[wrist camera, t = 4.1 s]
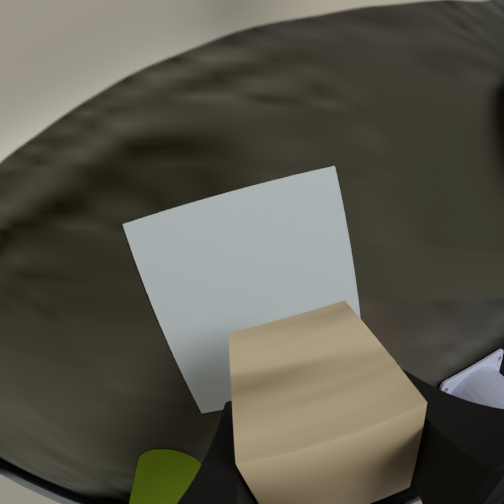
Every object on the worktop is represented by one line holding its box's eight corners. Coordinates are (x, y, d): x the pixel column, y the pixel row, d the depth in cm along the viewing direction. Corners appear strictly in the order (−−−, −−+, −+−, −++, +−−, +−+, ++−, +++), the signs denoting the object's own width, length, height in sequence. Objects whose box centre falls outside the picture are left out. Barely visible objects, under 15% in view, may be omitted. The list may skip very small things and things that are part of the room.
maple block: (354, 385, 13) (409, 487, 7) (257, 414, 13) (275, 529, 7) (345, 300, 12) (427, 402, 6) (228, 332, 12) (235, 464, 6)
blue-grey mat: (364, 368, 21) (365, 369, 20) (201, 412, 20) (201, 413, 20) (334, 165, 17) (334, 166, 17) (123, 224, 17) (122, 224, 16)
